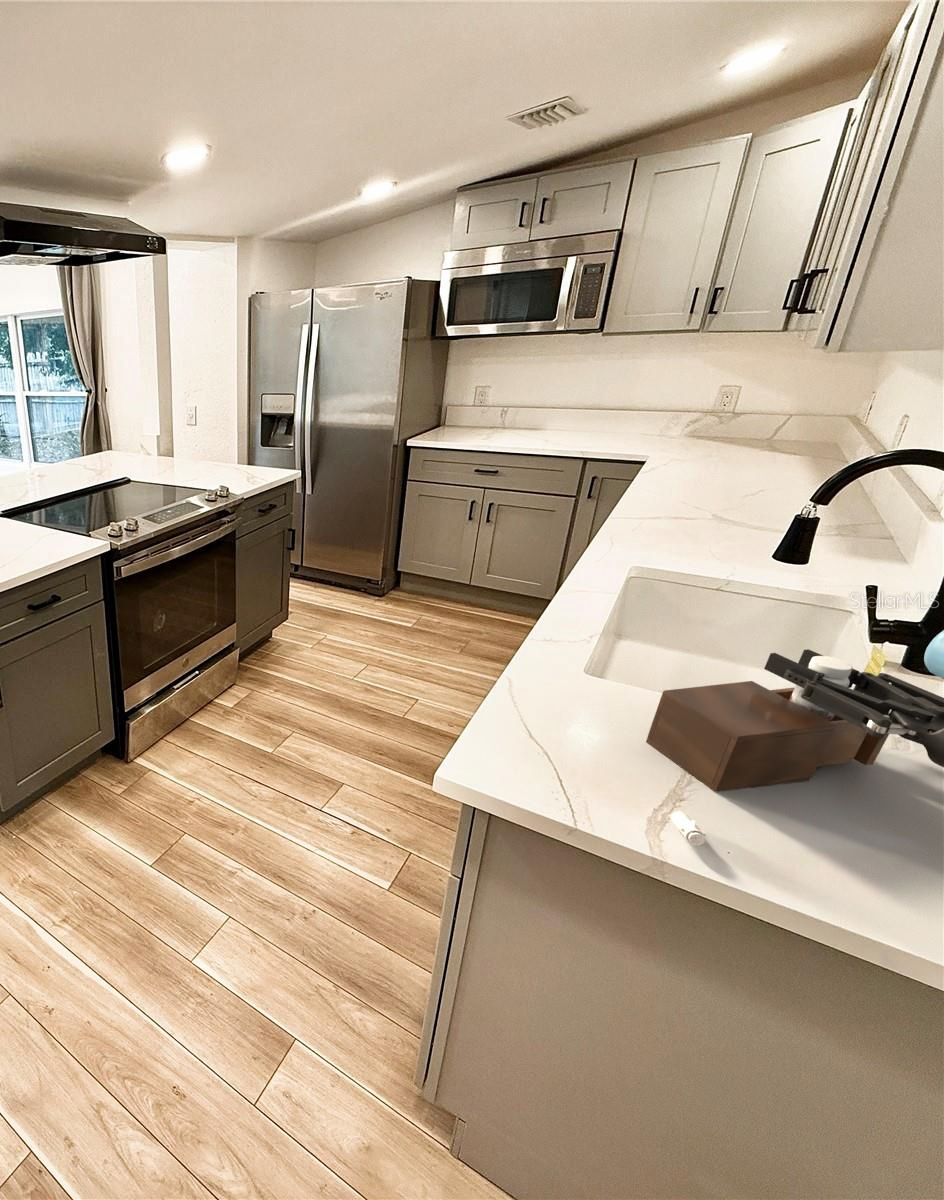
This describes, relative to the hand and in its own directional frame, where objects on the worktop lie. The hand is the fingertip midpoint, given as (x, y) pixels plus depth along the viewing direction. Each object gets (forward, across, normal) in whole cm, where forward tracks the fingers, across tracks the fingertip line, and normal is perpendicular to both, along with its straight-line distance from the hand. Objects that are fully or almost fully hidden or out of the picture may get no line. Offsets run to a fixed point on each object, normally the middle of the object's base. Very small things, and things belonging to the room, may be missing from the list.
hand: (786, 659), depth 92 cm
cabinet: (-5, -11, -13) cm, 18 cm away
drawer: (-5, +3, -12) cm, 14 cm away
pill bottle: (-5, 0, -6) cm, 8 cm away
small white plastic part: (-17, -29, -14) cm, 36 cm away
